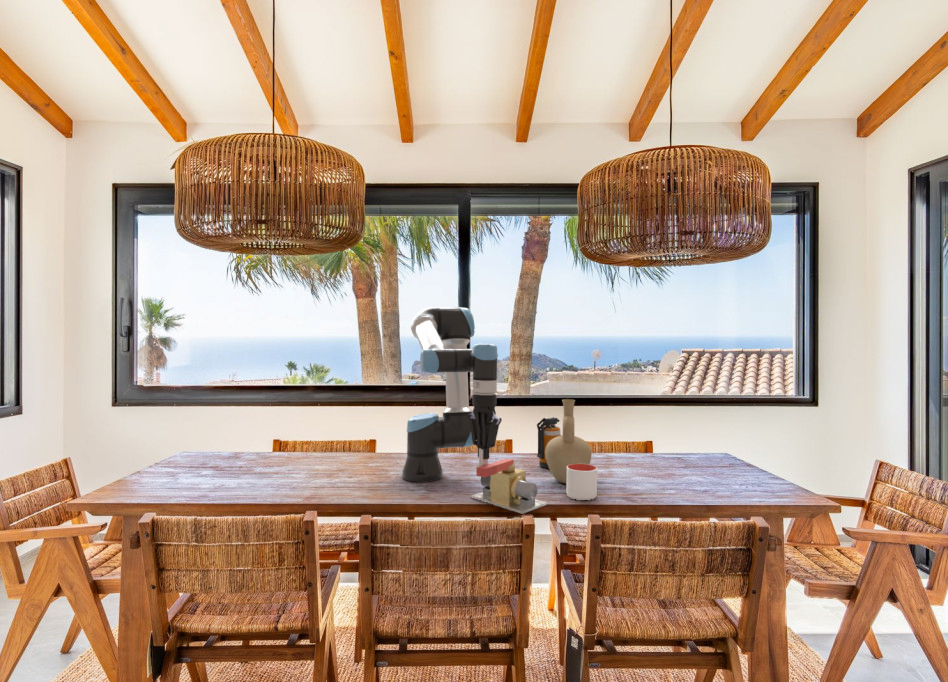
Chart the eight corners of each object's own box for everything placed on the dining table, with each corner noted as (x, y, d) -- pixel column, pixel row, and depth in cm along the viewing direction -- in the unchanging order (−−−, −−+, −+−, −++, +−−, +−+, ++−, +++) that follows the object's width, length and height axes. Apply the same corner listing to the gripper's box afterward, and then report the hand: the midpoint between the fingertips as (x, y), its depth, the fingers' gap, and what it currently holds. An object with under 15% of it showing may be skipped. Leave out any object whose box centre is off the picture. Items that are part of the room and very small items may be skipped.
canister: (566, 467, 222) (566, 418, 222) (545, 471, 216) (546, 420, 215) (551, 462, 230) (551, 415, 229) (530, 466, 223) (531, 417, 223)
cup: (592, 492, 188) (593, 463, 188) (600, 501, 178) (600, 471, 178) (563, 492, 188) (563, 463, 188) (569, 502, 178) (570, 471, 178)
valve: (471, 497, 182) (471, 467, 182) (495, 490, 190) (495, 461, 190) (522, 513, 166) (522, 481, 166) (546, 505, 175) (546, 473, 174)
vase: (592, 489, 192) (593, 403, 191) (544, 486, 195) (544, 402, 194) (590, 476, 208) (590, 397, 208) (545, 474, 211) (546, 396, 210)
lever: (506, 467, 181) (506, 457, 181) (517, 469, 178) (517, 459, 178) (474, 478, 168) (475, 466, 168) (486, 480, 165) (486, 469, 165)
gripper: (461, 392, 173) (460, 467, 173) (491, 396, 164) (489, 475, 164) (478, 390, 178) (477, 463, 179) (508, 394, 169) (506, 470, 170)
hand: (483, 468), depth 171 cm, fingers closed
